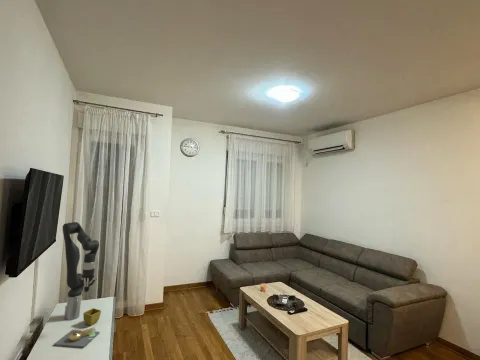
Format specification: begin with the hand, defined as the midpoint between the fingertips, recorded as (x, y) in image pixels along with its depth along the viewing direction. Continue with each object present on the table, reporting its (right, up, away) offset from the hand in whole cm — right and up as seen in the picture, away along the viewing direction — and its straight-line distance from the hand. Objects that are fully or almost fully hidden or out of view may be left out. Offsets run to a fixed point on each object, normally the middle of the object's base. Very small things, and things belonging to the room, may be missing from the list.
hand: (86, 291), depth 179 cm
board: (+3, -26, -13) cm, 30 cm away
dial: (+5, -25, -13) cm, 29 cm away
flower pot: (0, -28, +6) cm, 28 cm away
